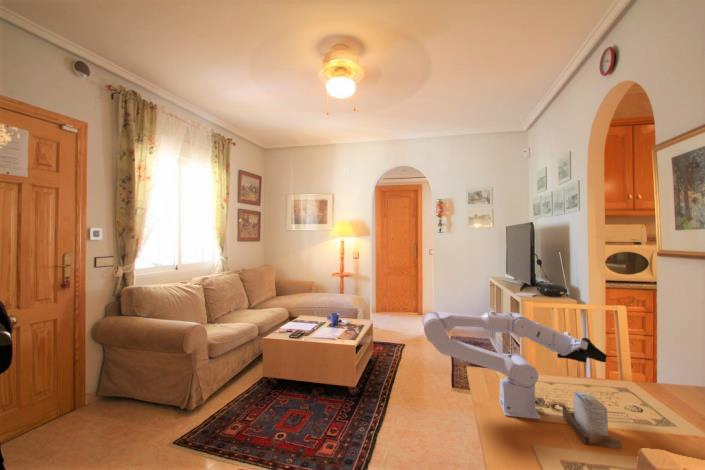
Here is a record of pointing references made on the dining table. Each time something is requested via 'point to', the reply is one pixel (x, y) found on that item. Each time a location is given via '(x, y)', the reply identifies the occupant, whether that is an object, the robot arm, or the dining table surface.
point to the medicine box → (590, 414)
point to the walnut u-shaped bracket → (588, 438)
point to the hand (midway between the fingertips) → (595, 358)
